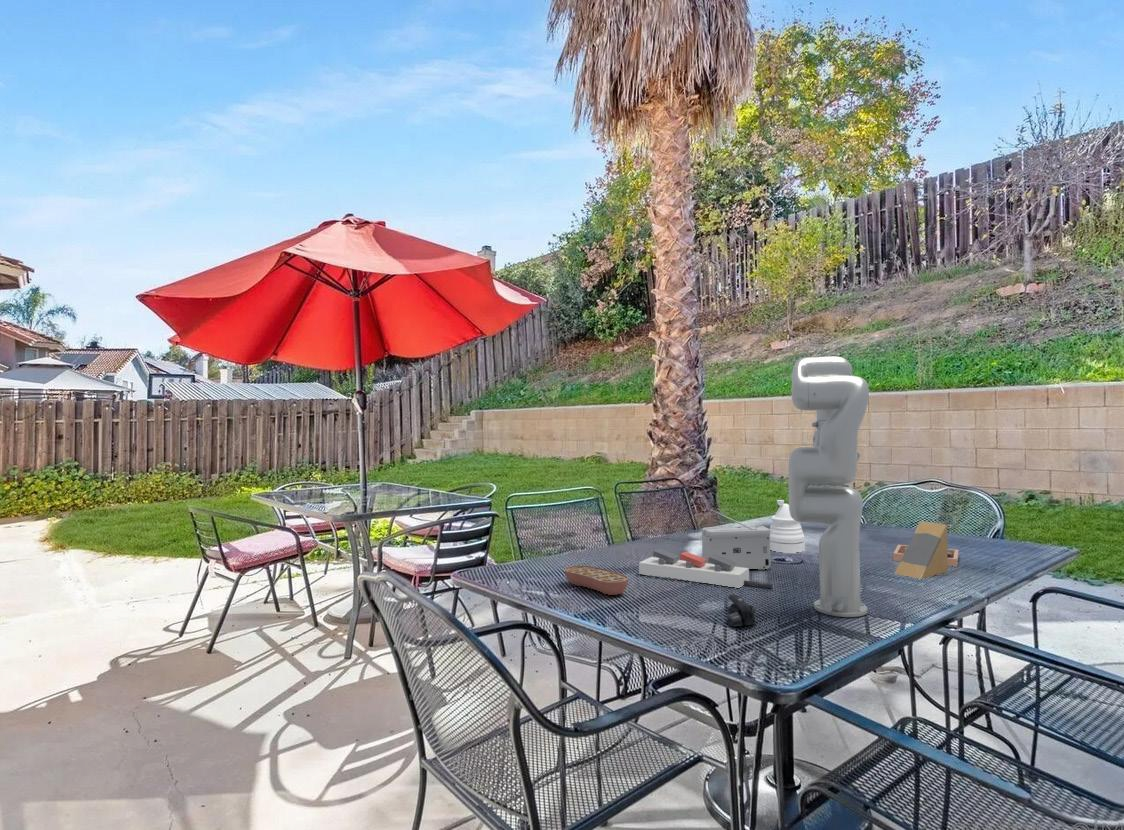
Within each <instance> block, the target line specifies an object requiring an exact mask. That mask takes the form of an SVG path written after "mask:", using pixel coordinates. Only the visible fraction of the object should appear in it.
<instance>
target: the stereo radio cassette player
mask: <svg viewBox="0 0 1124 830" xmlns="http://www.w3.org/2000/svg"><path fill="white" fill-rule="evenodd" d="M710 511H711V512H714V513H716V514H718V515H721V516H722V517H724V518H726V519H728V520H730V521H732V522H734V523H737V524H739V525H740V526H714V527H703V528H702V529H701V550H702V551H701V552H702V553H701V555H702V558H704V559H707V560H706V563H708V564H711V563H709V562H708V559H709V557H710V556H712V555H713V554H714V555H717V556H719V557H722V558H725V559H727V560H730V561H732V562H735V567H742V568H749V569H758V570H765V569H767V570H769V568H770V567H771V551H770V533H771V532H770V528H768V527H766V526H764V525H757V526H756V525H752V526H751V525H749V526H748V525H746V524H744V523H742V522H740V521H738V520H735V519H733V518H731V517H728V516H727V515H724V514H722V513H720V512H718V511H715V510H714V509H712V508H711V509H710Z"/></svg>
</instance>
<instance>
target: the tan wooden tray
mask: <svg viewBox="0 0 1124 830" xmlns="http://www.w3.org/2000/svg"><path fill="white" fill-rule="evenodd" d="M908 546H909V544H908V545H906V544H897V546H896V548H895V550H894V552H893V553H892V554H893V561H894V562H901V560H902V558H903V556H904V553H905V548H908ZM947 552H949V553H952V554H953V558H947V567H952V566H953V568H958V562H959V549H954V548H953V549H951V548H947Z"/></svg>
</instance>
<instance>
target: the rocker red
mask: <svg viewBox="0 0 1124 830" xmlns="http://www.w3.org/2000/svg"><path fill="white" fill-rule="evenodd" d="M679 560H682V561H686V562H692V564H694V565H696V566H699V567H702V566H703V565H705V564H706V560H707V559H704V558H702V557H701V556H698V555H696V554H694V553H691V552H689V551H683V552H682V553H680V555H679Z"/></svg>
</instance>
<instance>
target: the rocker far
mask: <svg viewBox="0 0 1124 830" xmlns="http://www.w3.org/2000/svg"><path fill="white" fill-rule="evenodd" d="M652 557H657V558H660V559H664V560H665V561H667V562H670V563H672V564H673V563H675V562H677V561H678V560H680V555H677V554H674V553H672V552H669V551H667V550H664V549H662V548H657V549H655V550H653V553H652Z"/></svg>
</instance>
